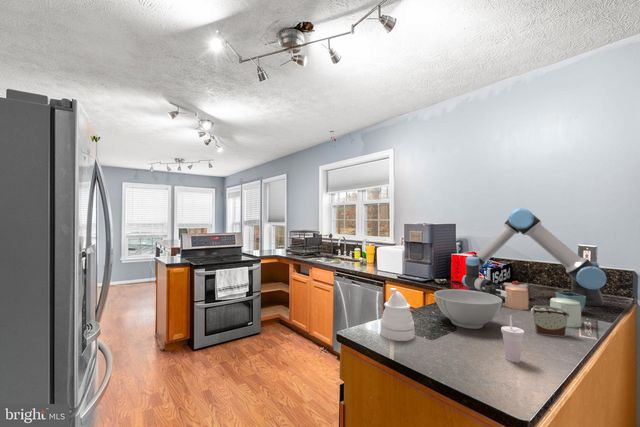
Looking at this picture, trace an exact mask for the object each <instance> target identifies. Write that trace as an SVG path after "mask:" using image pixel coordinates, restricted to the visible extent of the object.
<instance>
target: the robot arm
mask: <svg viewBox="0 0 640 427" xmlns="http://www.w3.org/2000/svg"><path fill="white" fill-rule="evenodd" d="M519 233H520V234H522V235H523V236H529V237H530V238H531V240H533V241H534V242H536V244H537V245H539V246H540V247H541V248H542V249H543V250H544V251H546V252H547V254H549V255H551V256H552V257H553V258H554V259H555V260H556V261H557V262H559V263H560V265H562V266H563V267H565V272H566V274H568V275H569V276H570V277H571V288H570V290H569V293H575V294H579V295H582V296H585V297H586V301H585V306H592V307H603V306H604V305H605V300H604V298H603V295H602V293H601V291H600V288H602V287H604V286H605V284H607V275H606V273H605V271H604V270H603V269H601V268H600V264H599V262H597V261H591V260H590V259H588V258H585V257H581V256H580V255H578V254H577V253H576V252H575V251H573V250H572V249H571V248H570V247H568V245H566V244H565V243H563V242H562V240H560V239H558V237H556V236H555V235H554V234H553V233H552V232H550V231H549V230H548V229H547V228H546V227H544V226H543V225H542V220H541V219H539V218H538V217H537V216H536V215H534V214H533V212H532V211H531V210H529V209H527V208H525V207H519V208H515V209H513V210H512V211H511V212H509V214H508V219H507V220H506V221H505V222H504V223H503V226H502V227H501V229H500V230H499V231H497V232H496V234H495V235H494V236H493V237H492V238H490V240H489V241H488V242H487V243H486V244H485V245H483V247H482V248H481V249H480V250H479V251H478V252H476V254H475V255H473V256H467V257H465V275H463V277H462V280H461V282H462V284H463V286H465V287H467V288H469V289H473V290H475V291H479V292H484V293H488V294H492V295H495V296H501V297H504V298H505V297H507V292H506V291H505V286H506V285H503V284H497V283H495V281H493V280H491V279H486V278H483V277H480V269H481V268H482V267H483V266H484V265H485V264H486V263H487V262H488V261H489V260H490V259H491V258H492V257H493V256H494V255H495V254H496V253H497V252H498V251H499V250H500V249H501V248H503V246H505V244H506V243H508V241H509V240H510V239H512V238H513V237H514V236H515V235H517V234H519Z"/></svg>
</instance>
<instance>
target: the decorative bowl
mask: <svg viewBox="0 0 640 427" xmlns="http://www.w3.org/2000/svg"><path fill="white" fill-rule="evenodd" d="M433 295H434V296H433V297H434V300H435V302H436V304H437V307H438V308H439V310H440V311H441V312H442V314H443V315H444V316H445V317H446V318H447V319H449V320H450V322H451V324H453V325H455V326H457V327H460V328H463V329H471V330H472V329H475V330H476V329H482V328H483V326H484V325H485V324H488V323H489V322H491V321H492V320H493V319H494V318H495V317H496V316H497V315H498V313H499V311H501V307H502V304H503V299H502V298H501V297H500V296H499V295H496V294H495V295H493V293H492V294H489V293H487V292H483V291H482V292H481V291H479V290H470V289H469V290H468V289H460V288H459V289H440V290H436V291H435V292H434V293H433Z"/></svg>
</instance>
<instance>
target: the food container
mask: <svg viewBox="0 0 640 427" xmlns="http://www.w3.org/2000/svg"><path fill="white" fill-rule="evenodd" d="M531 309H532V312H531V314H533V313H534V314H533V320H534V326H535V334H537V335H542V336H543V335H544V336H554V337H561V338H562V337H563V338H566V333H567V326H566V325H567V316H569V313H568V311H566V310H564V309H560V308H555V307H550V305H549V306H548V305H534V306H533V307H532V308H531Z"/></svg>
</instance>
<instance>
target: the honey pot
mask: <svg viewBox="0 0 640 427" xmlns="http://www.w3.org/2000/svg"><path fill="white" fill-rule="evenodd" d="M389 291H390V293H391V295H390V297H389V298H388V300H387V301H386V302H385V303H384V304H383V306H384V307H385V308H384V310H383V313H382V315H381V316H382V317H381V319H380V335H381V336H382V337H383V338H386V339H388V340H391V341H399V342H405V341H411V340H413V339H414V338H415V322H414V320H413V316H412V312H411V310H410V308H411V304H409V303H408V302H407V300H406V298H405V296H404V295H403V294H402V293H401V292H400V291H398V289H397V288H394V287H391V288H389Z"/></svg>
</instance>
